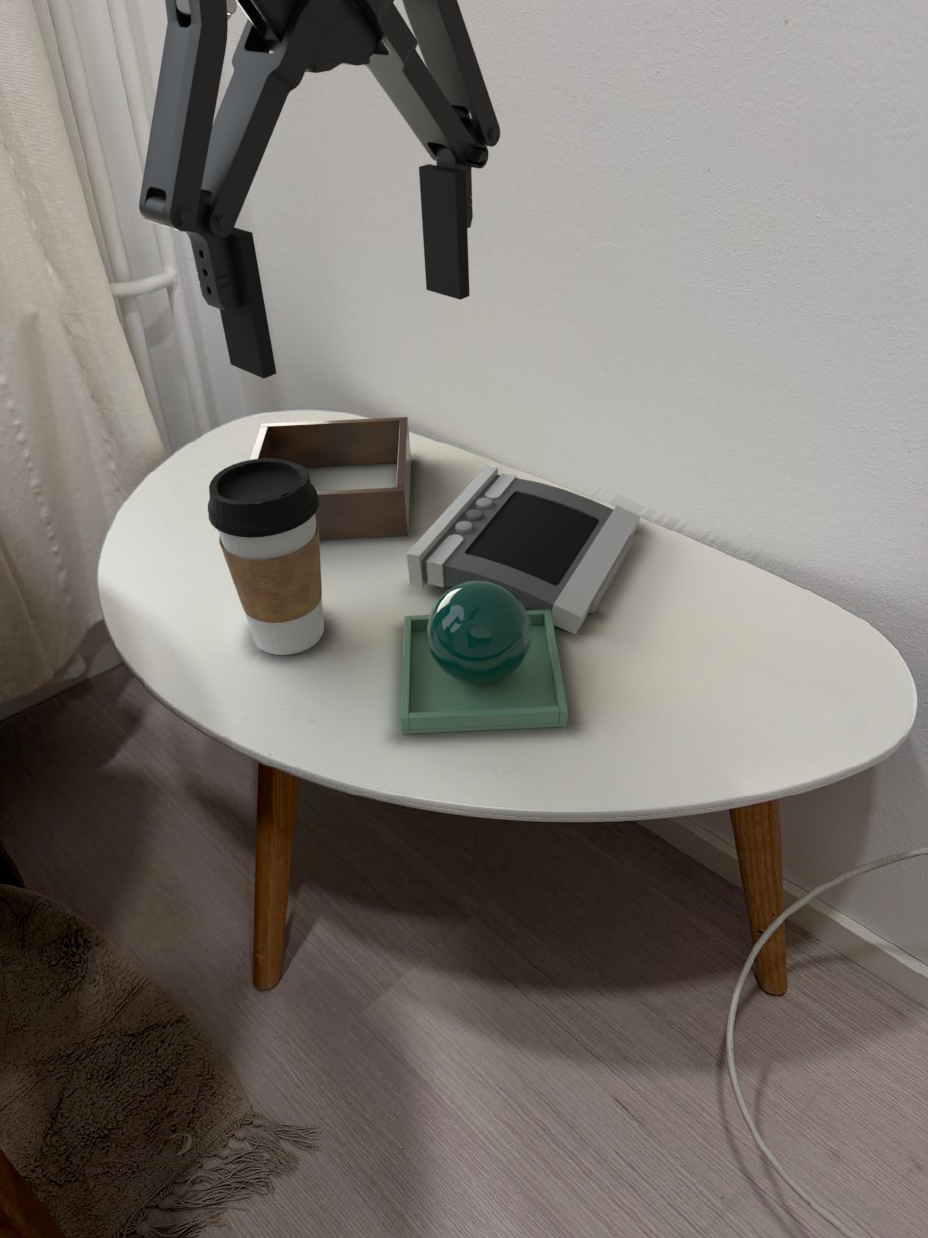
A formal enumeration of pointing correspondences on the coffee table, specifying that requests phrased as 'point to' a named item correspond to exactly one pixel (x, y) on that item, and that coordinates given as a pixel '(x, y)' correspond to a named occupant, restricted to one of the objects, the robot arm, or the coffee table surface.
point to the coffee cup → (272, 549)
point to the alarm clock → (527, 545)
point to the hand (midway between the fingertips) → (358, 328)
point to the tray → (482, 687)
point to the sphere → (479, 632)
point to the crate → (348, 446)
